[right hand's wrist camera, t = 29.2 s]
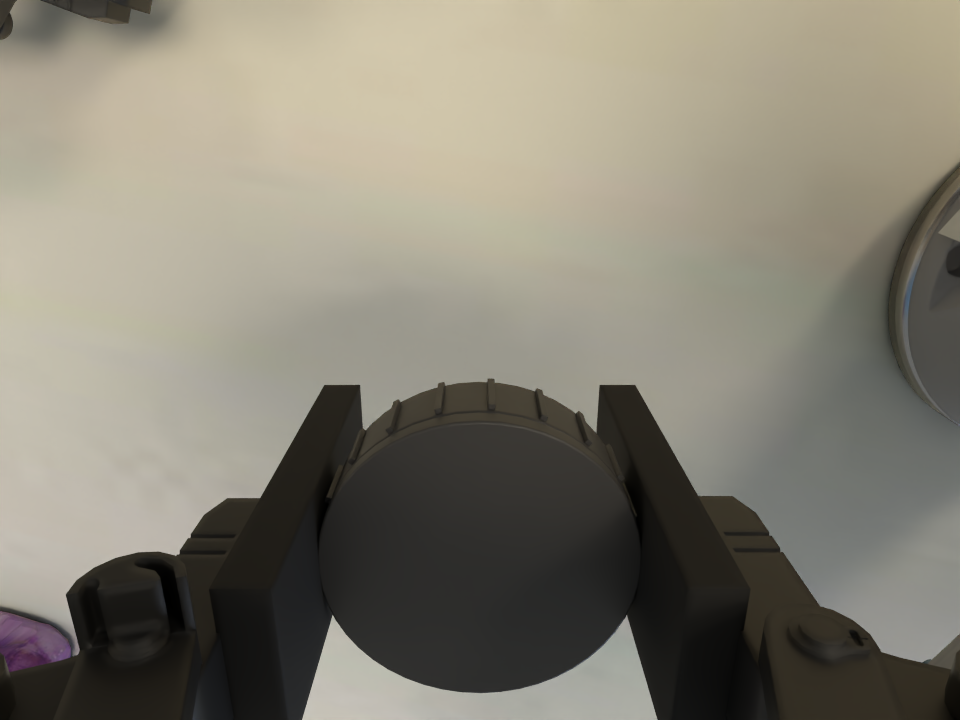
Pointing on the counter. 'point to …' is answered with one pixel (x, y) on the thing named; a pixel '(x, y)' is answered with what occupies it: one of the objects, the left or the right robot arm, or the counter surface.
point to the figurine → (30, 642)
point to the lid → (479, 539)
